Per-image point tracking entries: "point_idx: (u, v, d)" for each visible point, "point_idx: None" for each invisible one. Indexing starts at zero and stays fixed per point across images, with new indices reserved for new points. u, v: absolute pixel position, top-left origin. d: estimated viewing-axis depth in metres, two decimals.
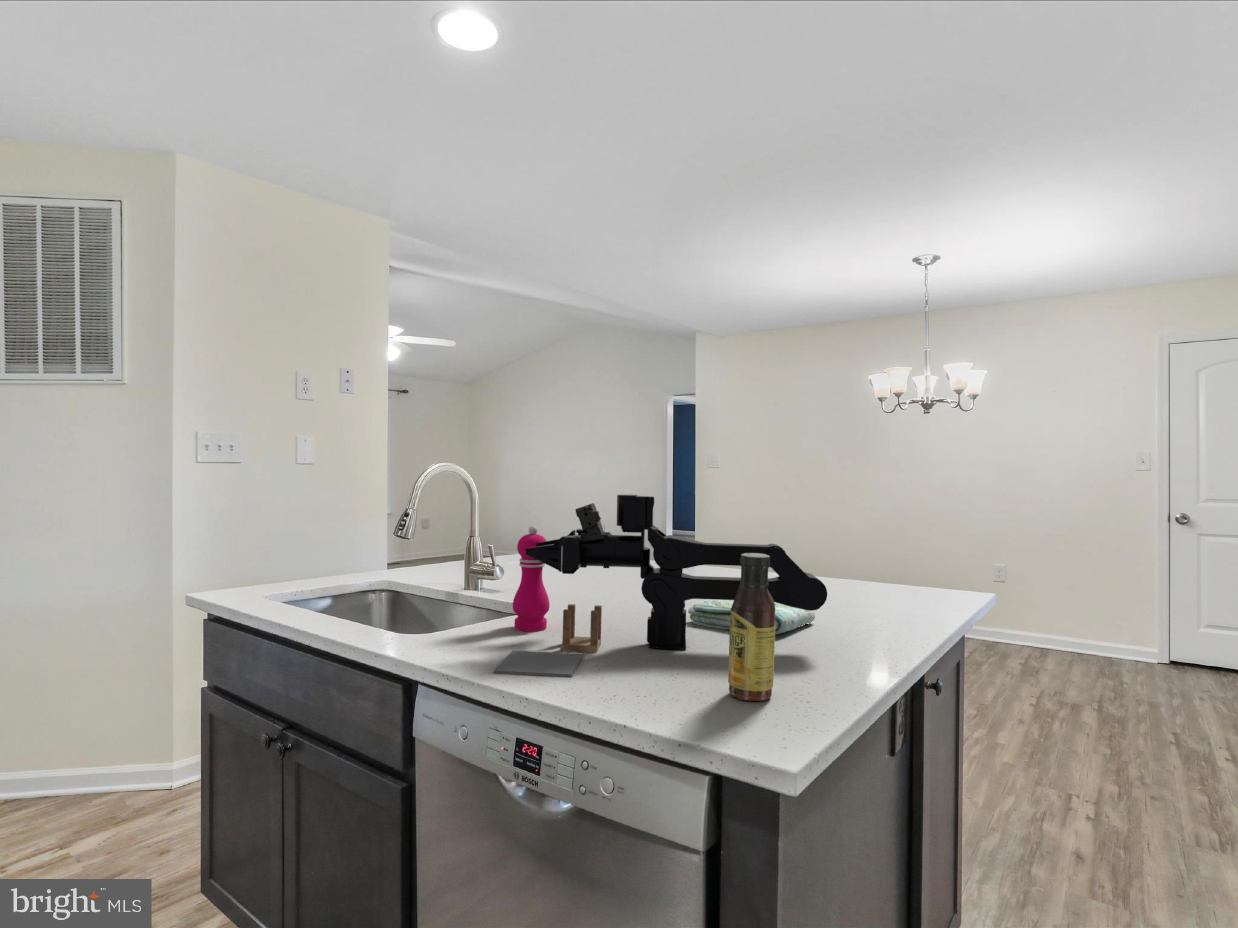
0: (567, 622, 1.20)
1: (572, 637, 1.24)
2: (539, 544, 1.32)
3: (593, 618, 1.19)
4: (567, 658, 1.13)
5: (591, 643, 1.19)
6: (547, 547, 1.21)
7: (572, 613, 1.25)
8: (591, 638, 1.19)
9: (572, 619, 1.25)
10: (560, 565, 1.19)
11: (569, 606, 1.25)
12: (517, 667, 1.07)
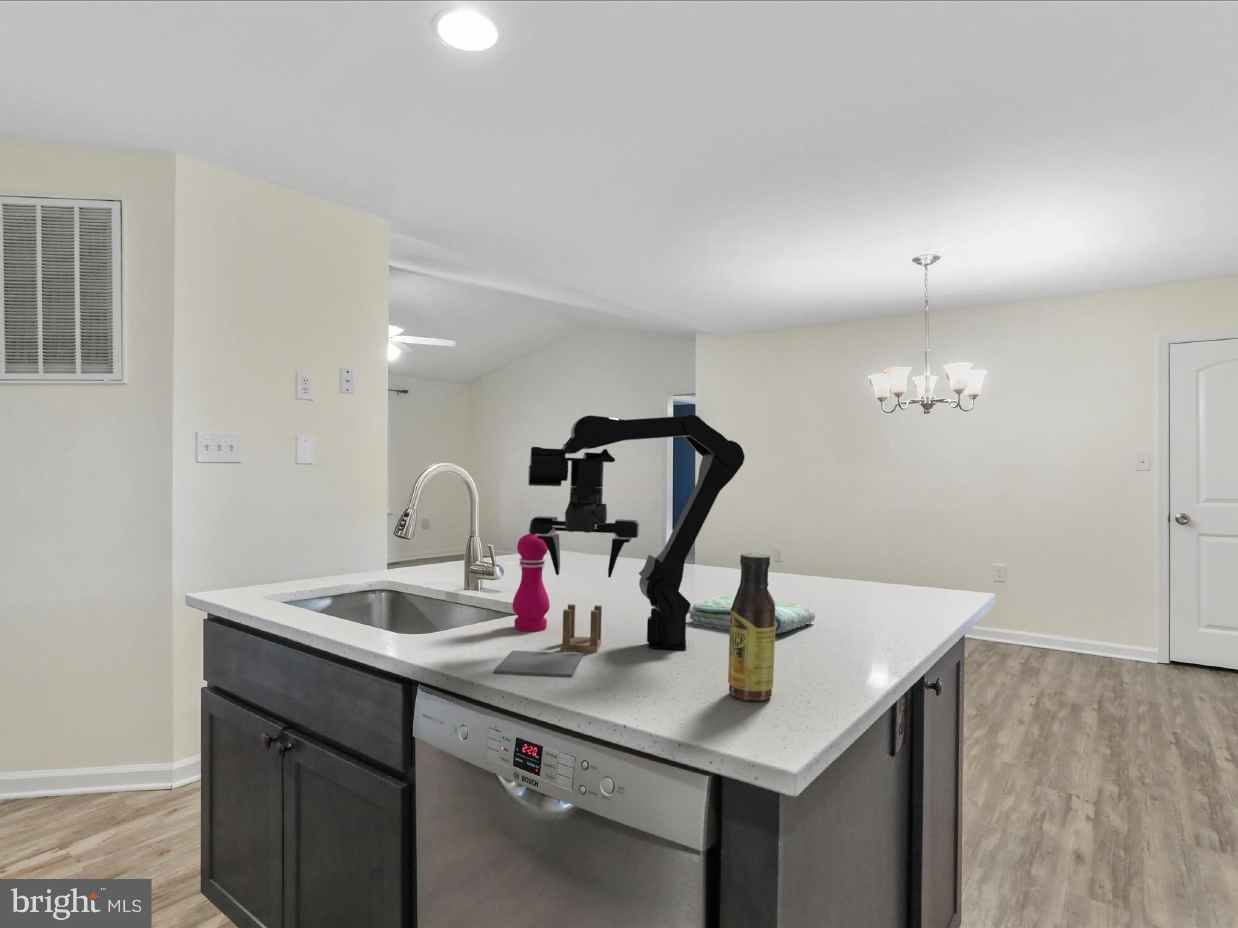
0: (567, 622, 1.20)
1: (572, 637, 1.24)
2: (558, 571, 1.23)
3: (593, 618, 1.19)
4: (567, 658, 1.13)
5: (591, 643, 1.19)
6: (618, 554, 1.21)
7: (572, 613, 1.25)
8: (591, 638, 1.19)
9: (572, 619, 1.25)
10: None
11: (569, 606, 1.25)
12: (517, 667, 1.07)
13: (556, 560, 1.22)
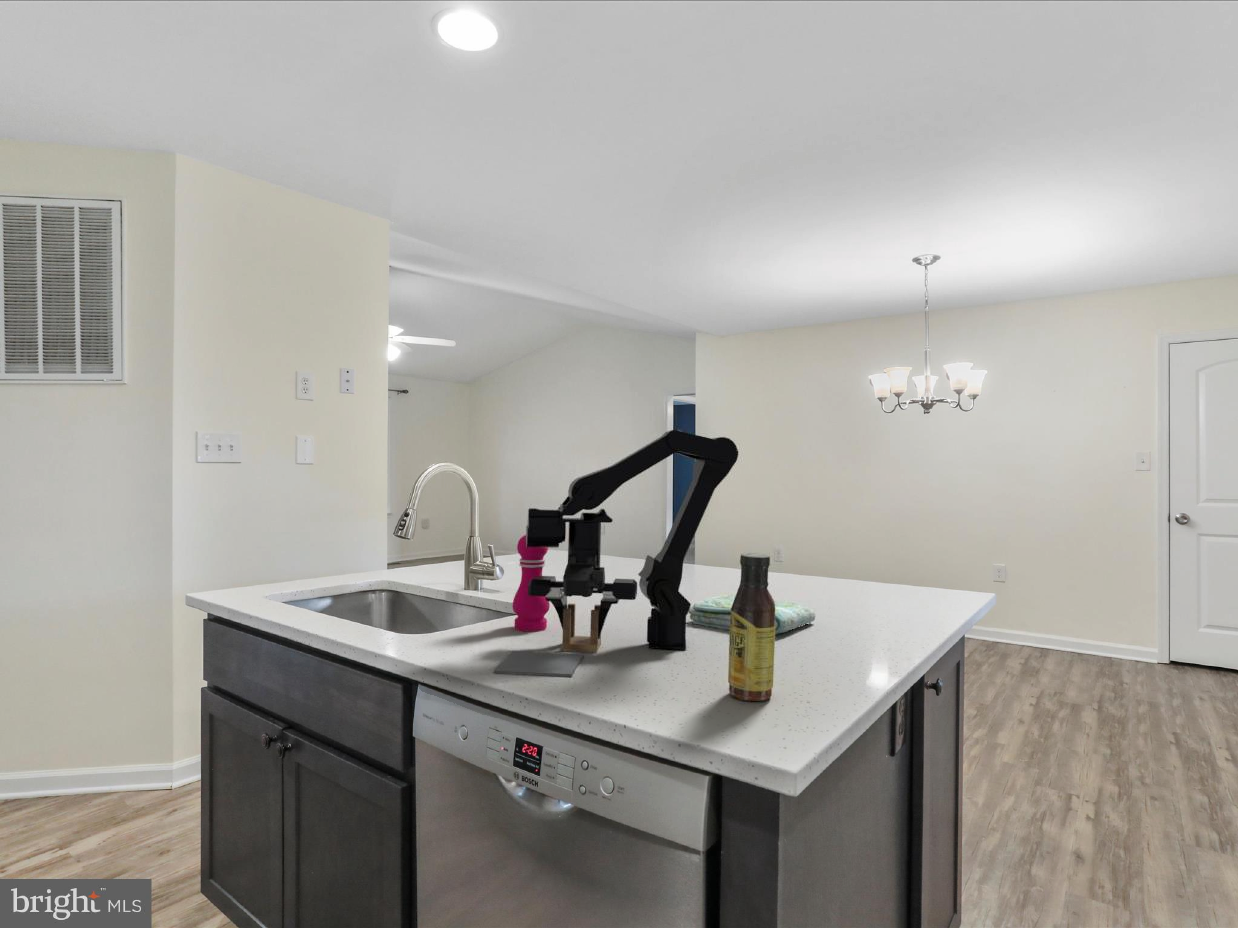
0: (567, 621, 1.20)
1: (572, 636, 1.24)
2: None
3: (593, 617, 1.19)
4: (567, 658, 1.13)
5: (591, 642, 1.19)
6: (606, 614, 1.21)
7: (572, 612, 1.25)
8: (591, 637, 1.19)
9: (572, 618, 1.25)
10: None
11: (569, 605, 1.25)
12: (517, 667, 1.07)
13: None
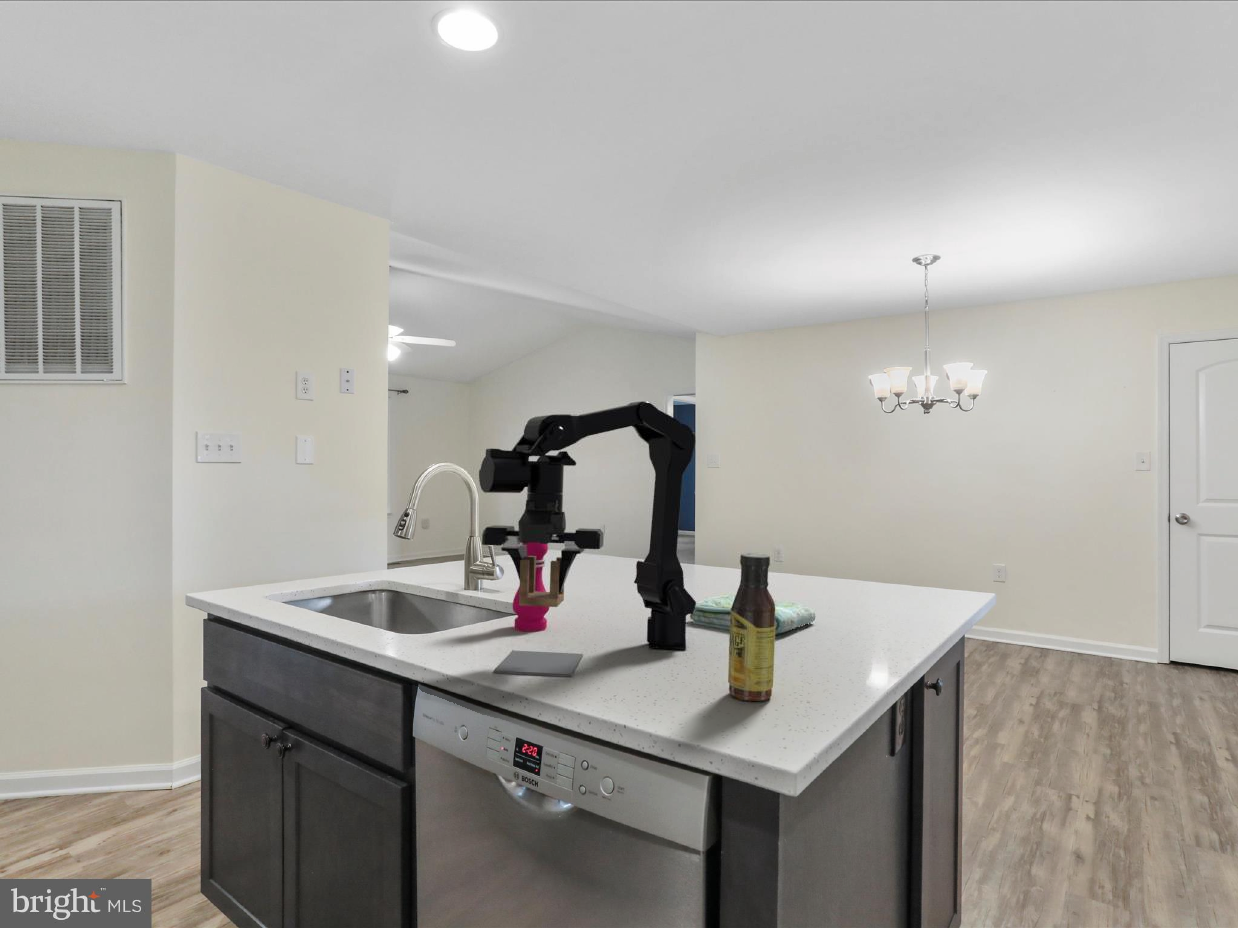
0: (524, 573, 1.09)
1: (532, 591, 1.13)
2: None
3: (553, 569, 1.08)
4: (567, 658, 1.13)
5: (551, 596, 1.08)
6: (568, 566, 1.10)
7: (532, 565, 1.13)
8: (551, 591, 1.08)
9: (532, 572, 1.13)
10: (583, 548, 1.13)
11: (529, 557, 1.13)
12: (517, 667, 1.07)
13: None
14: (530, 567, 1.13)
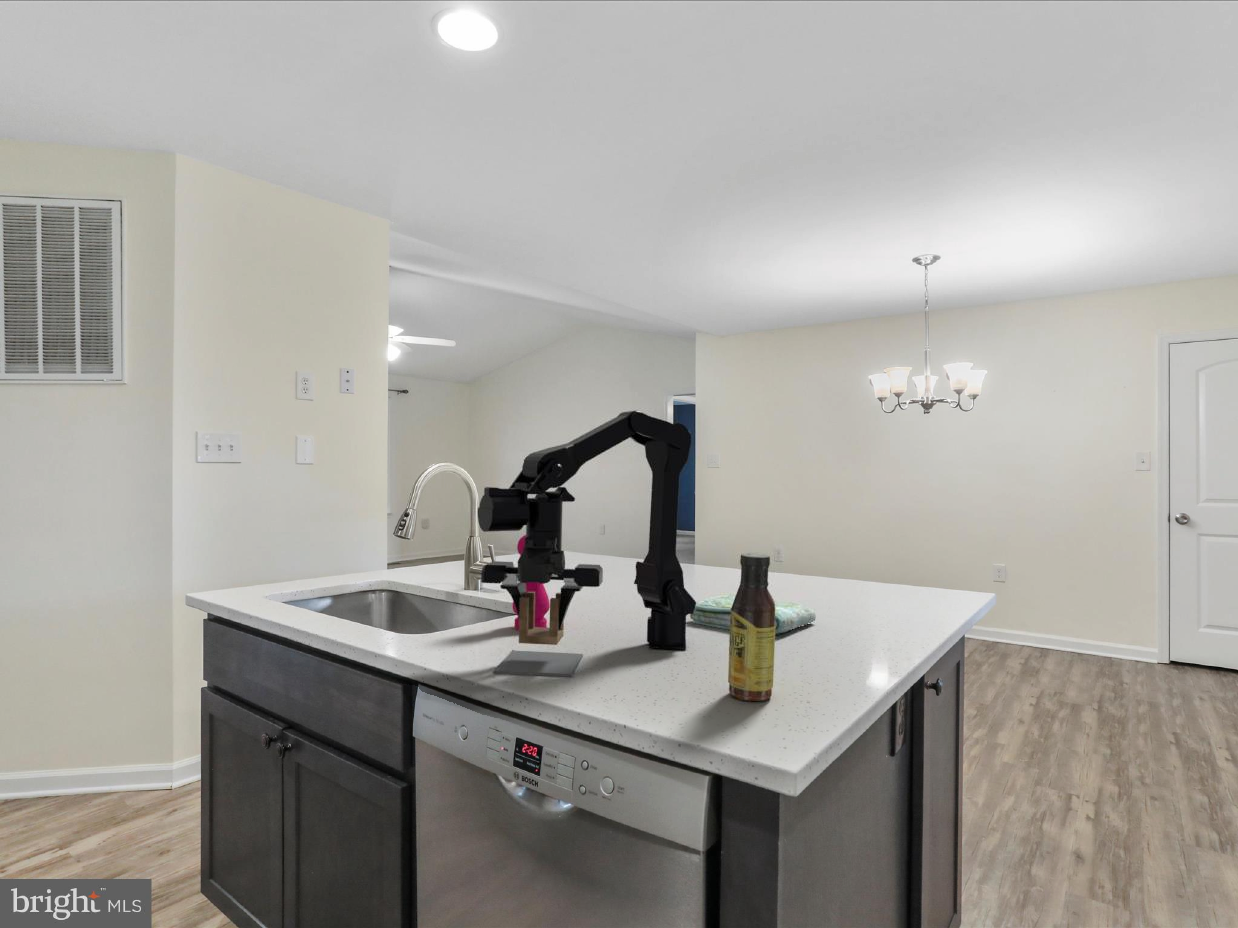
0: (524, 611, 1.08)
1: (531, 628, 1.13)
2: None
3: (552, 606, 1.08)
4: (567, 658, 1.13)
5: (550, 634, 1.08)
6: (568, 603, 1.10)
7: (531, 601, 1.13)
8: (550, 628, 1.08)
9: (531, 608, 1.13)
10: None
11: (528, 594, 1.13)
12: (517, 667, 1.07)
13: None
14: (529, 603, 1.13)
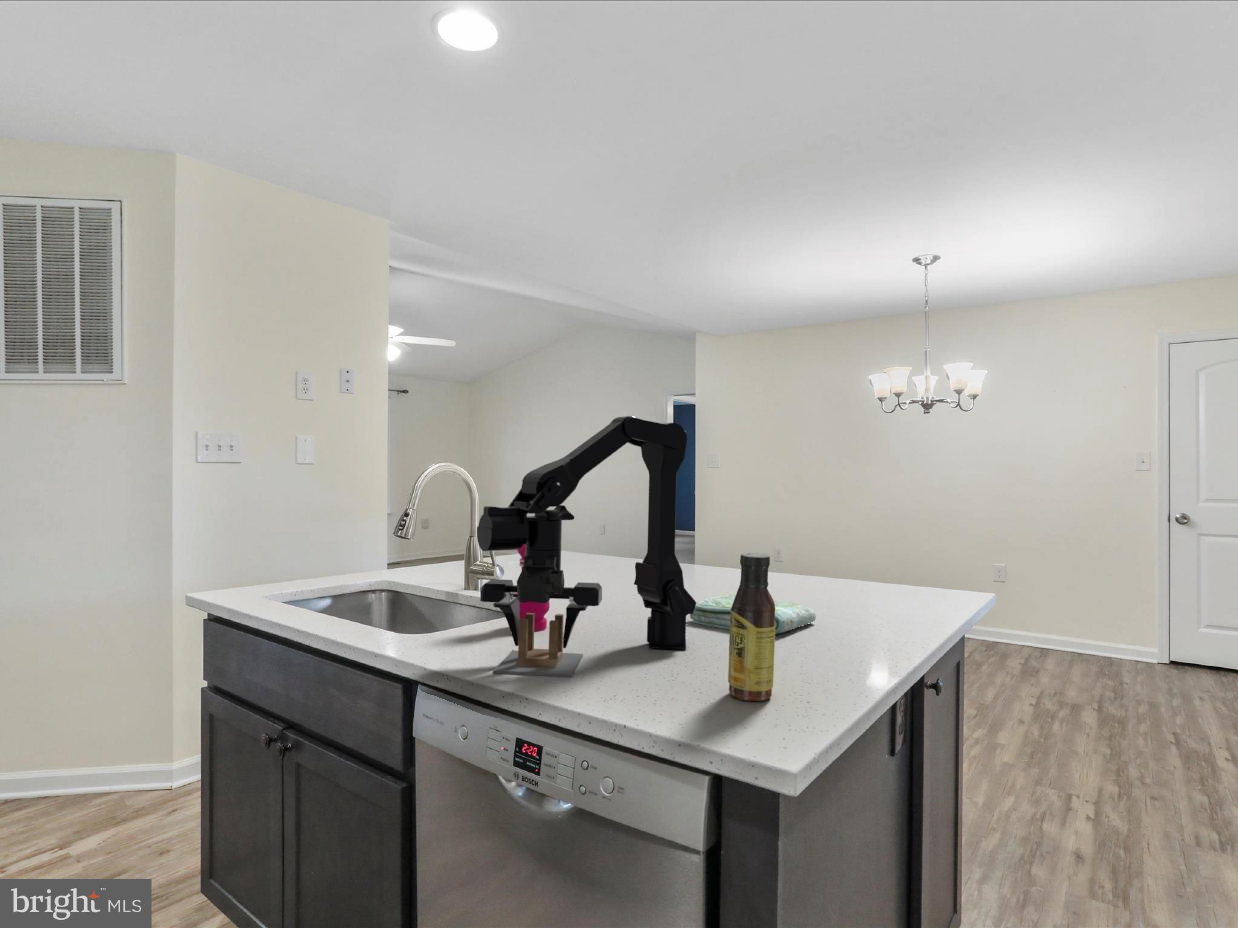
0: (523, 633, 1.08)
1: (531, 649, 1.13)
2: (518, 641, 1.11)
3: (552, 629, 1.08)
4: (567, 658, 1.13)
5: (550, 656, 1.08)
6: (573, 622, 1.10)
7: (531, 623, 1.13)
8: (550, 651, 1.08)
9: (531, 629, 1.13)
10: None
11: (527, 615, 1.13)
12: (517, 667, 1.07)
13: (515, 630, 1.10)
14: (529, 625, 1.13)
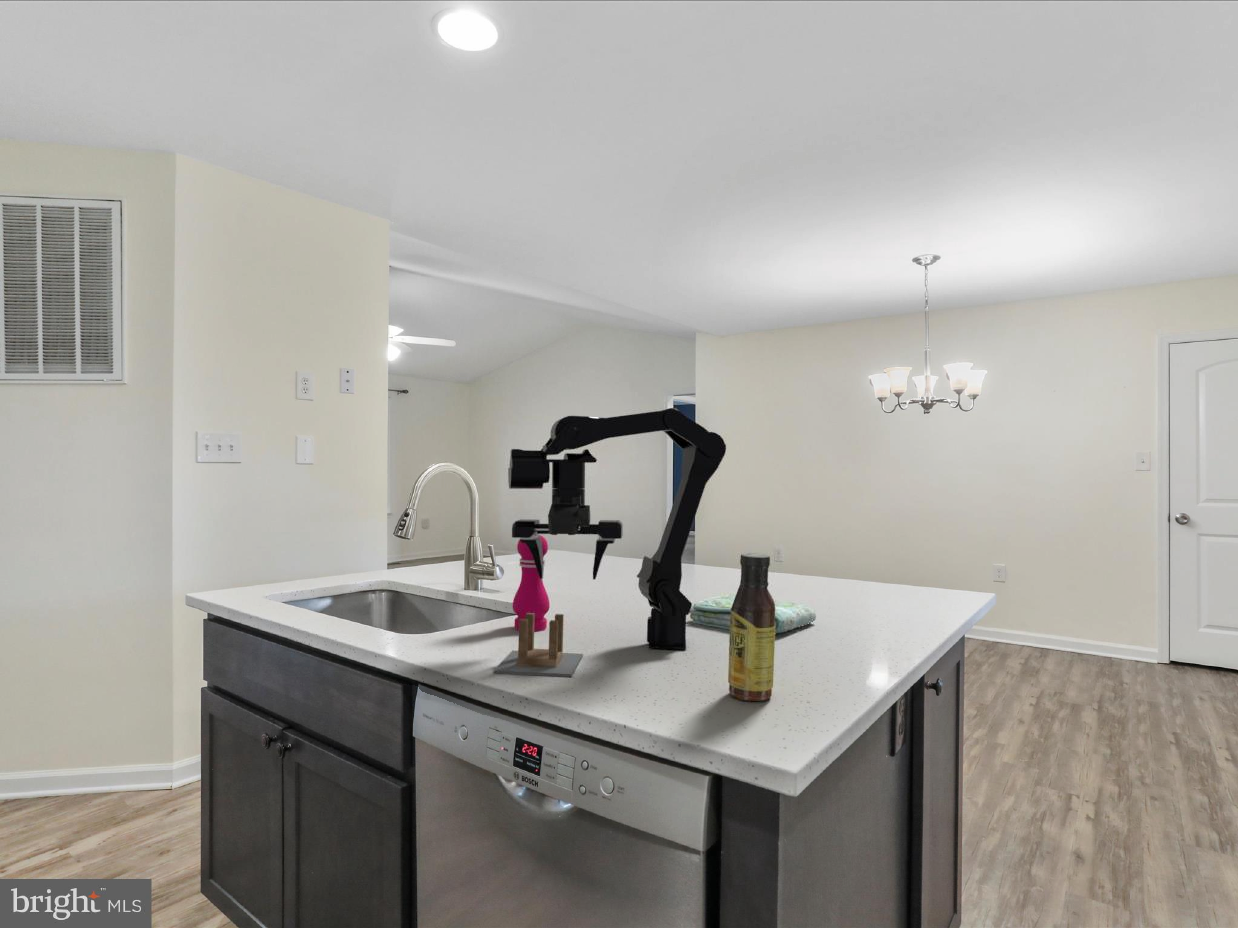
0: (523, 633, 1.08)
1: (531, 649, 1.13)
2: (542, 574, 1.21)
3: (552, 629, 1.08)
4: (567, 658, 1.13)
5: (550, 656, 1.08)
6: (602, 555, 1.20)
7: (531, 623, 1.13)
8: (550, 651, 1.08)
9: (531, 629, 1.13)
10: None
11: (527, 615, 1.13)
12: (517, 667, 1.07)
13: (539, 564, 1.20)
14: (529, 625, 1.13)
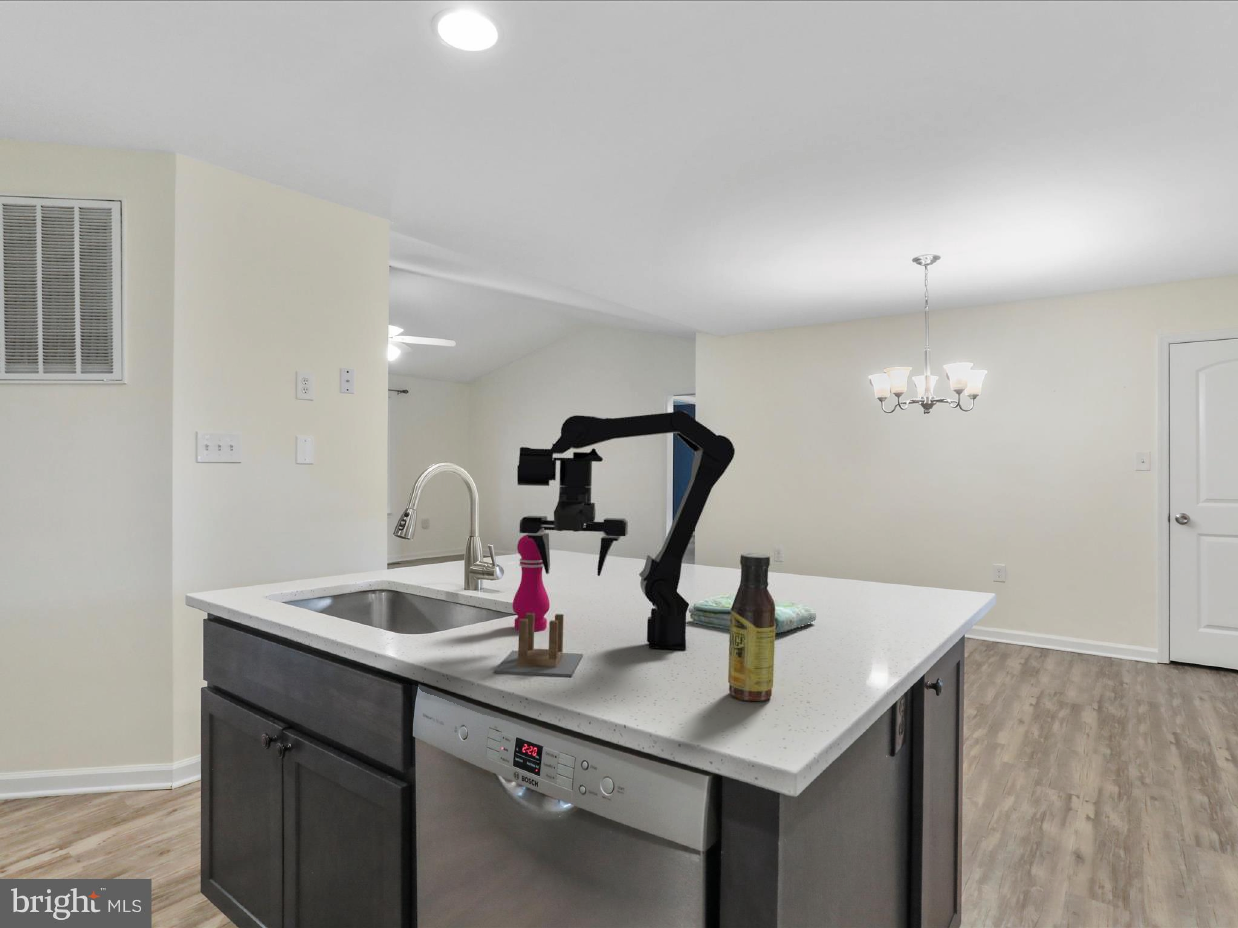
0: (523, 633, 1.08)
1: (531, 649, 1.13)
2: (548, 570, 1.24)
3: (552, 629, 1.08)
4: (567, 658, 1.13)
5: (550, 656, 1.08)
6: (607, 552, 1.22)
7: (531, 623, 1.13)
8: (550, 651, 1.08)
9: (531, 629, 1.13)
10: None
11: (527, 615, 1.13)
12: (517, 667, 1.07)
13: (546, 559, 1.23)
14: (529, 625, 1.13)
